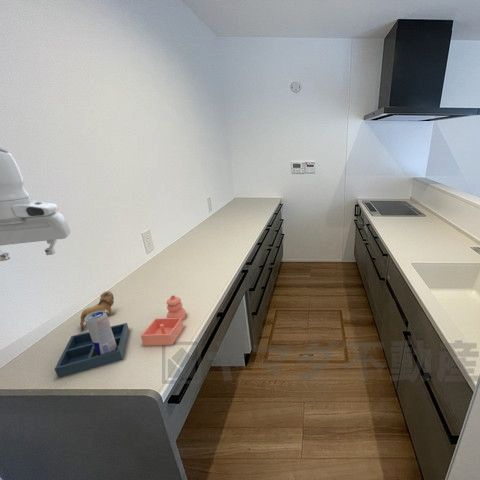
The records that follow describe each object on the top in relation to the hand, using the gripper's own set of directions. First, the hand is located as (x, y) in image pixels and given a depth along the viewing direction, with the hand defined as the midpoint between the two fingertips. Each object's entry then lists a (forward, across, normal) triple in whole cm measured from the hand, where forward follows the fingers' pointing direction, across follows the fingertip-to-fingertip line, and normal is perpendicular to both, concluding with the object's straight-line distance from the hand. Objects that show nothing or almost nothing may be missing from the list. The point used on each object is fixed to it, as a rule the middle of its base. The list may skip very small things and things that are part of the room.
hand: (28, 257), depth 74 cm
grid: (+34, +9, -5) cm, 35 cm away
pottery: (+34, +30, -2) cm, 45 cm away
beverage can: (+33, +13, -8) cm, 37 cm away
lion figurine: (+34, +6, +16) cm, 38 cm away
